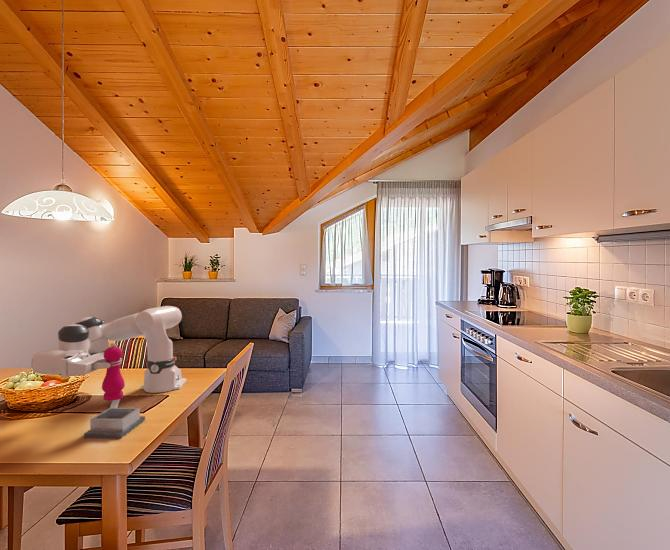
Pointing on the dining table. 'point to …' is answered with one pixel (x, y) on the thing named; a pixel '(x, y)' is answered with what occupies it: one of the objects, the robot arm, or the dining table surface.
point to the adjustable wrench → (115, 403)
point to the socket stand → (114, 423)
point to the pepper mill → (113, 374)
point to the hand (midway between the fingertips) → (115, 362)
